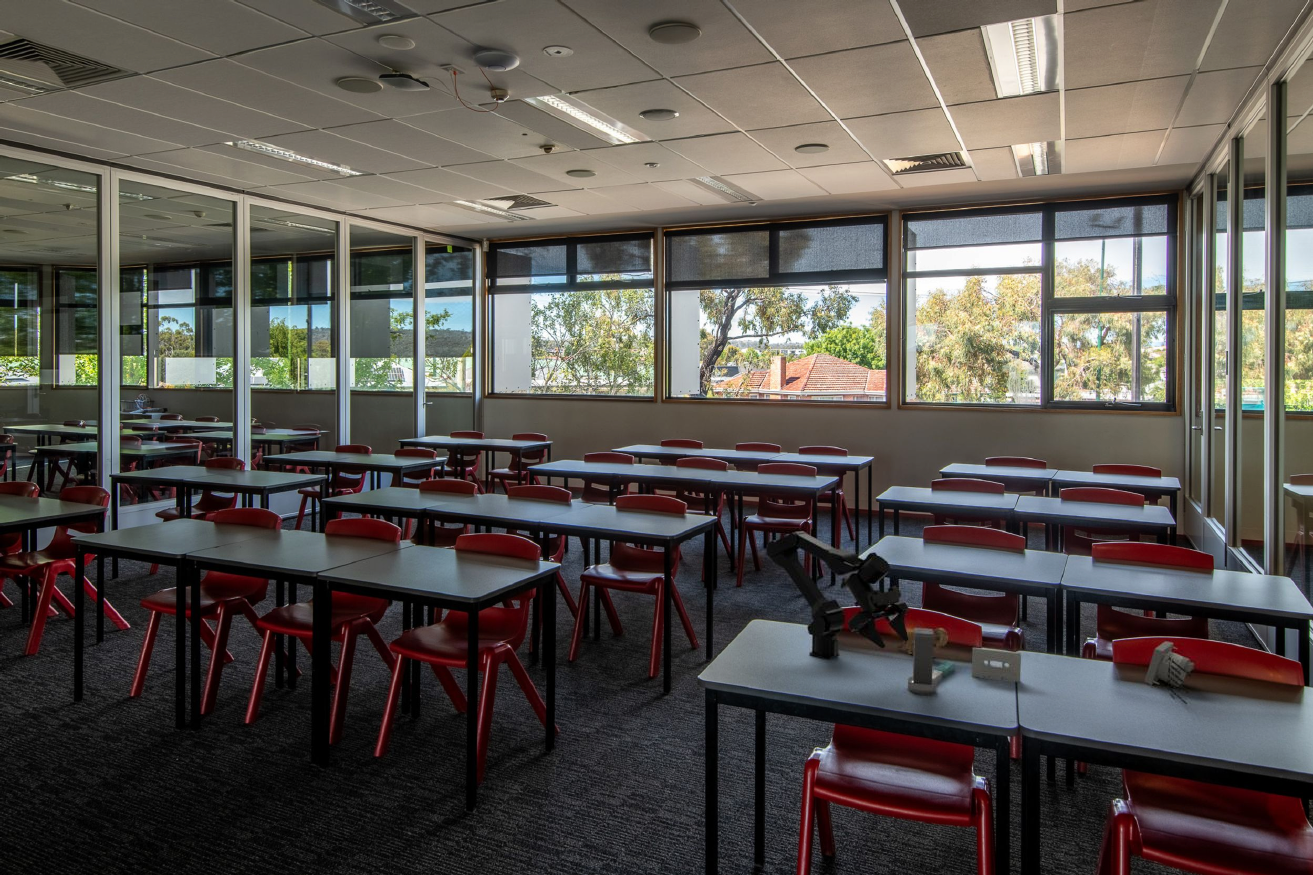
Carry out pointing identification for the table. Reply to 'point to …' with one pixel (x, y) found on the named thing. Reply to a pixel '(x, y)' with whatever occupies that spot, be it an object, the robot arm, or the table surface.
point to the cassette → (996, 671)
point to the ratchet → (936, 677)
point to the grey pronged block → (1168, 667)
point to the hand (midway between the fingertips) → (895, 644)
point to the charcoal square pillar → (923, 656)
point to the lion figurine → (938, 639)
